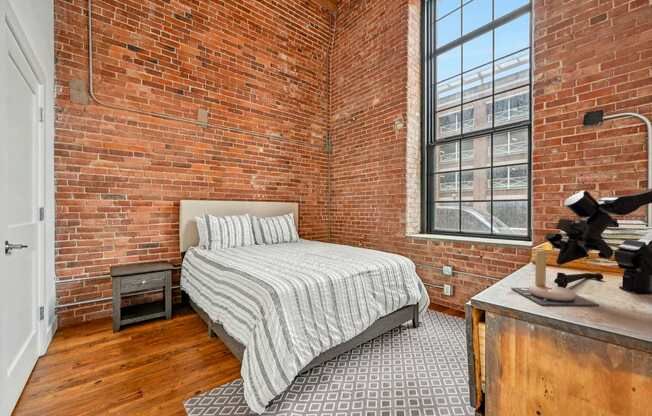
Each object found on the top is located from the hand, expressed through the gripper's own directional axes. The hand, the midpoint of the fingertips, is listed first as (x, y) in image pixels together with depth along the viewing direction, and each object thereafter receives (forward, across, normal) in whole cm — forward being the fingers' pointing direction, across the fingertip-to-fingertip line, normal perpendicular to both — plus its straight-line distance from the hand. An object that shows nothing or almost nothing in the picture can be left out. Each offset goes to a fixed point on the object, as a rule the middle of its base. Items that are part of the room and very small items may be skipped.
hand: (558, 263), depth 93 cm
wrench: (-3, -6, +15) cm, 17 cm away
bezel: (+10, +4, +2) cm, 11 cm away
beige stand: (+10, +4, +2) cm, 11 cm away
